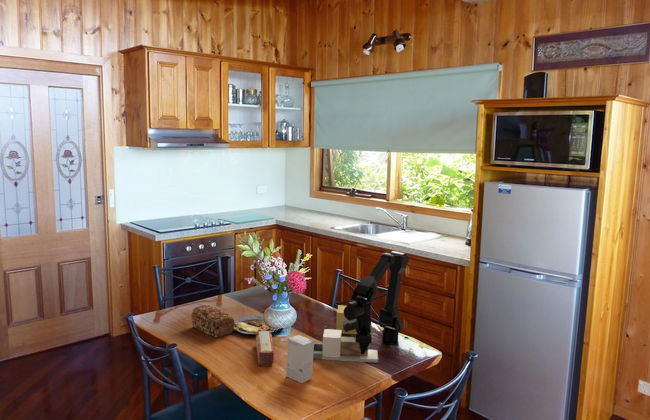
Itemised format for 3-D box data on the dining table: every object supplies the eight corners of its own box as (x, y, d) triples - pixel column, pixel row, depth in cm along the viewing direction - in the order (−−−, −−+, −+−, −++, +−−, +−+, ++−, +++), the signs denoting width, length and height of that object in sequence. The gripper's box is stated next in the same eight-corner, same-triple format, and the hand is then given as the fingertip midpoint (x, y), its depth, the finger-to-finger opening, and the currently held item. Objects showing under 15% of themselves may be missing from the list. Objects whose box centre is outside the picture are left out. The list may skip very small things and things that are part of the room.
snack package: (274, 366, 206) (274, 350, 205) (257, 367, 205) (257, 350, 204) (271, 344, 227) (271, 329, 226) (255, 345, 226) (255, 329, 225)
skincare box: (285, 376, 198) (286, 338, 195) (296, 371, 202) (297, 333, 200) (302, 384, 192) (303, 344, 190) (313, 378, 197) (314, 339, 195)
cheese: (359, 326, 250) (360, 306, 249) (358, 335, 240) (359, 314, 238) (336, 325, 251) (337, 304, 250) (335, 334, 241) (335, 312, 239)
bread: (190, 327, 243) (190, 306, 242) (210, 322, 251) (210, 301, 249) (215, 339, 231) (215, 317, 229) (235, 333, 238) (235, 311, 237)
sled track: (377, 352, 222) (378, 331, 221) (377, 362, 212) (378, 340, 211) (312, 348, 224) (313, 327, 222) (310, 358, 214) (311, 337, 213)
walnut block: (367, 351, 220) (368, 338, 219) (367, 356, 215) (368, 342, 214) (333, 349, 220) (333, 336, 220) (332, 354, 216) (332, 340, 215)
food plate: (294, 329, 245) (294, 321, 244) (253, 342, 228) (253, 334, 228) (260, 316, 262) (260, 309, 262) (220, 327, 246) (219, 320, 245)
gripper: (345, 305, 225) (343, 341, 227) (343, 321, 206) (341, 359, 208) (371, 307, 224) (370, 342, 226) (372, 322, 205) (370, 361, 208)
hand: (362, 351), depth 217 cm, fingers closed on walnut block, 5 cm apart
